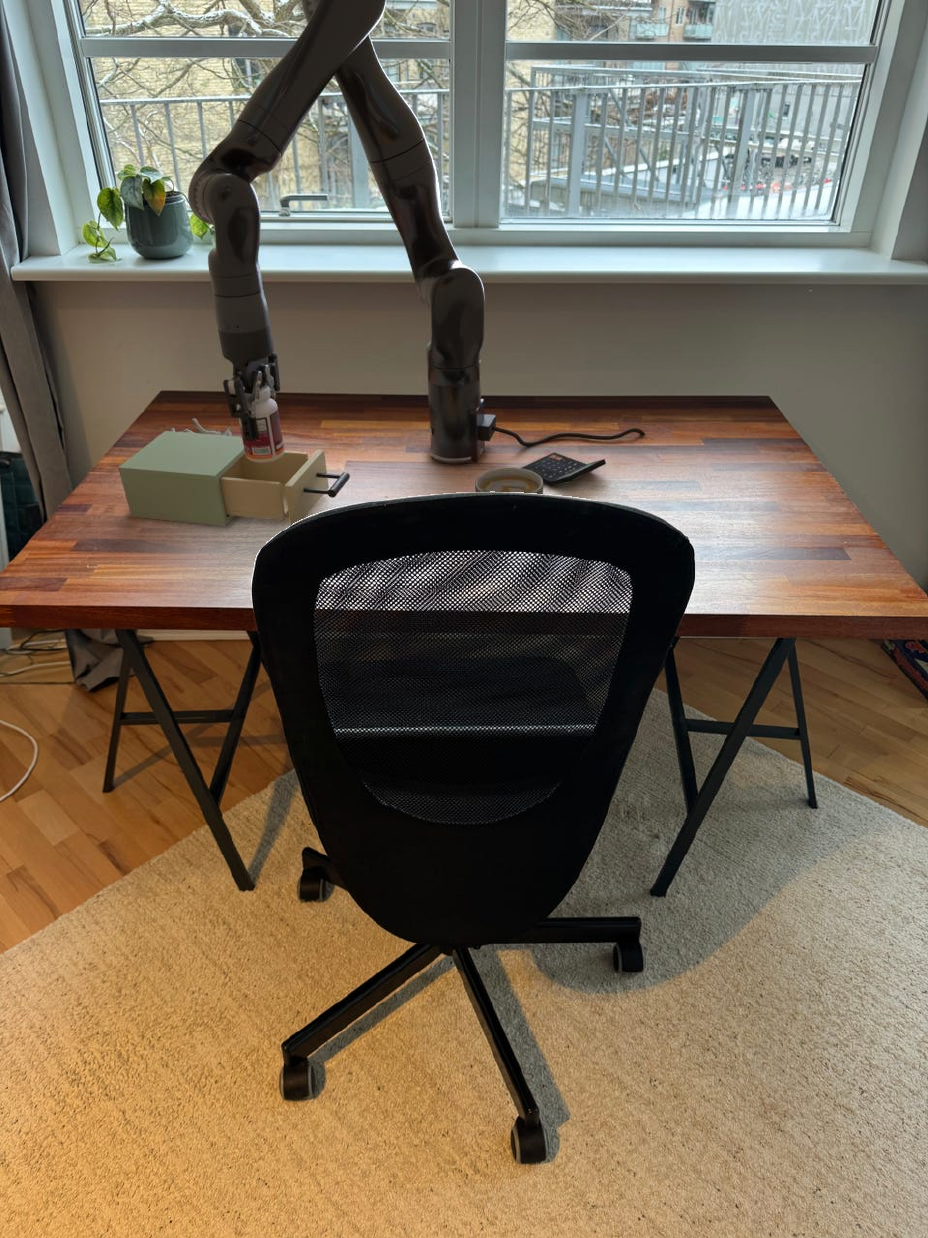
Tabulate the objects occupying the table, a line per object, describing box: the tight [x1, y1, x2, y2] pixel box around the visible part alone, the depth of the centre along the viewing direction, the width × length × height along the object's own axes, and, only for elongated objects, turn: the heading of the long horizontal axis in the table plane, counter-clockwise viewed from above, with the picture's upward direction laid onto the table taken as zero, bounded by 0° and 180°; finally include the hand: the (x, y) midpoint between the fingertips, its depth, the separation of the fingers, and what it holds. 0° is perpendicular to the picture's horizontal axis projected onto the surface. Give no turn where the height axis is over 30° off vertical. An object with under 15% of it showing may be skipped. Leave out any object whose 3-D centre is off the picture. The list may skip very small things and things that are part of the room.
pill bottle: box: [237, 384, 285, 463], centre depth 137 cm, size 6×6×11 cm
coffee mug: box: [474, 467, 544, 495], centre depth 133 cm, size 13×10×10 cm
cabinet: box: [117, 430, 245, 527], centre depth 146 cm, size 17×15×9 cm
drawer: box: [219, 449, 351, 526], centre depth 143 cm, size 21×14×7 cm, turn 76°
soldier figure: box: [170, 417, 233, 436], centre depth 166 cm, size 8×5×12 cm
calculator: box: [521, 452, 607, 487], centre depth 152 cm, size 9×12×3 cm
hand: (261, 430), depth 138 cm, fingers closed on pill bottle, 6 cm apart
